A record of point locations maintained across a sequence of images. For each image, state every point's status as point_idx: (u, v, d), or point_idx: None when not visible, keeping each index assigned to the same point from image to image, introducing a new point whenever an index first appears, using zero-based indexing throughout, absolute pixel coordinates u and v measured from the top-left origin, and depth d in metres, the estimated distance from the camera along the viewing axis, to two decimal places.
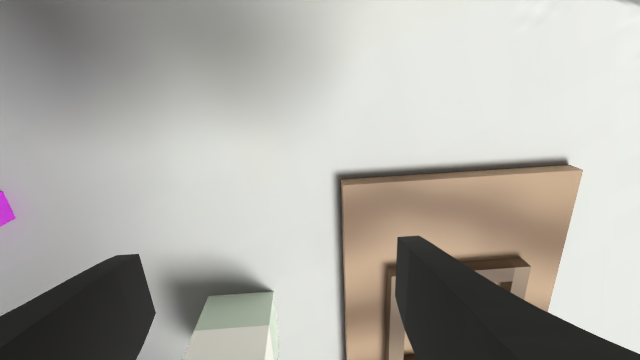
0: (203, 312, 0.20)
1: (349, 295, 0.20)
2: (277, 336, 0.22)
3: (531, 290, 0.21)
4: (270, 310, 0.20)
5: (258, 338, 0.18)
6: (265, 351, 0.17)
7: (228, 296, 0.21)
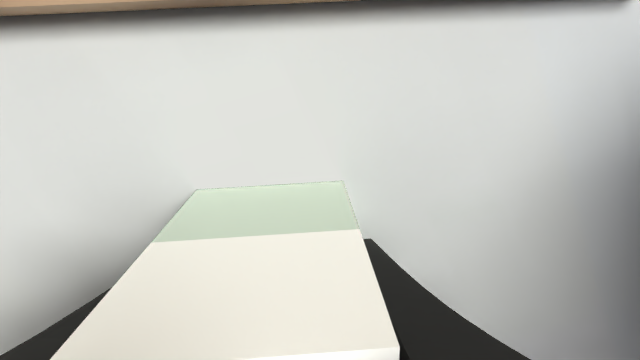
0: None
1: None
2: (307, 191, 0.09)
3: None
4: (176, 217, 0.08)
5: None
6: (105, 302, 0.05)
7: None
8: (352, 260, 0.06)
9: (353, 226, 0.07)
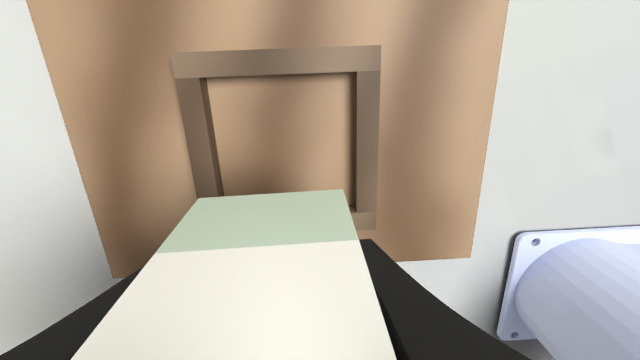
0: None
1: None
2: (308, 200, 0.09)
3: (239, 20, 0.13)
4: (179, 227, 0.08)
5: None
6: (111, 315, 0.05)
7: None
8: (351, 272, 0.06)
9: (352, 237, 0.07)
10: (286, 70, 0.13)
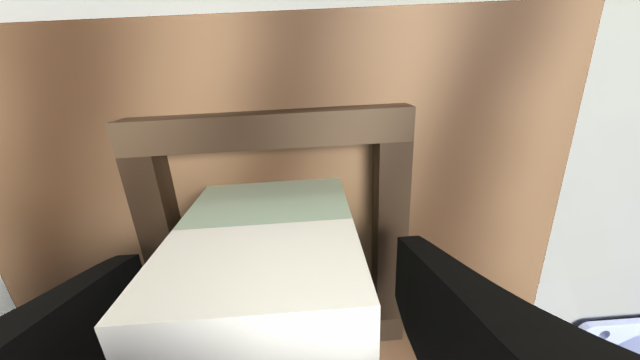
0: None
1: None
2: (307, 187, 0.10)
3: (209, 70, 0.09)
4: (191, 210, 0.09)
5: None
6: (139, 276, 0.06)
7: None
8: (344, 243, 0.07)
9: (347, 216, 0.08)
10: (277, 144, 0.09)
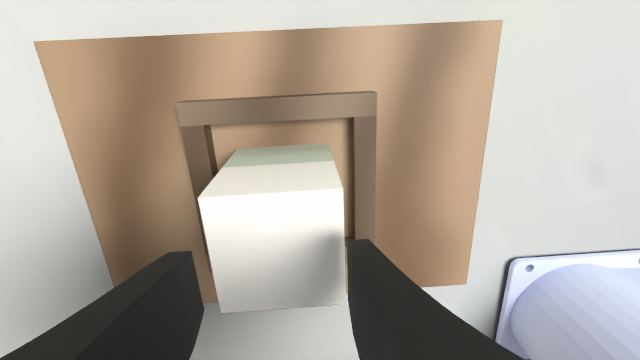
0: None
1: None
2: (306, 148, 0.15)
3: (241, 69, 0.14)
4: None
5: None
6: (211, 183, 0.11)
7: None
8: (328, 170, 0.11)
9: (331, 159, 0.13)
10: (286, 117, 0.14)
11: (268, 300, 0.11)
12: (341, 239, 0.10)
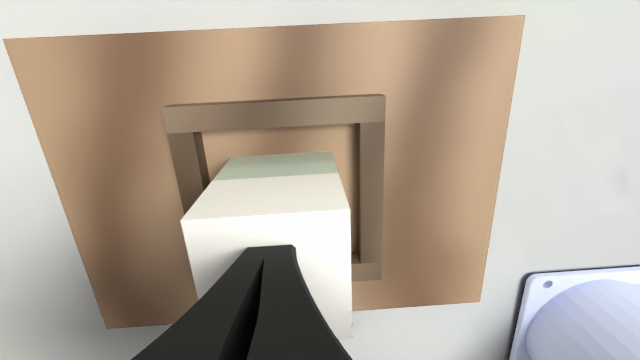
0: None
1: None
2: (307, 156, 0.13)
3: (234, 69, 0.13)
4: (222, 170, 0.12)
5: None
6: (198, 201, 0.09)
7: None
8: (331, 184, 0.10)
9: (334, 171, 0.11)
10: (285, 123, 0.12)
11: None
12: (347, 266, 0.09)
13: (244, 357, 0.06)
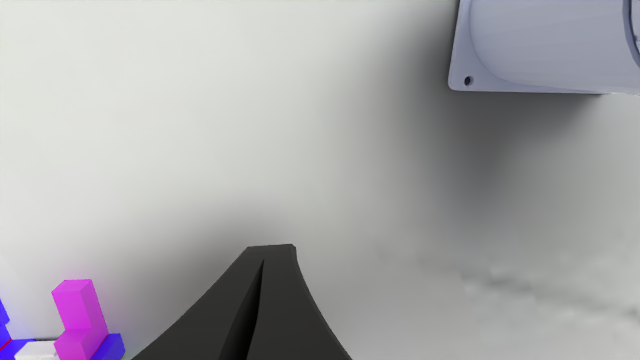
0: None
1: None
2: None
3: None
4: None
5: None
6: None
7: None
8: None
9: None
10: None
11: None
12: None
13: (244, 357, 0.06)
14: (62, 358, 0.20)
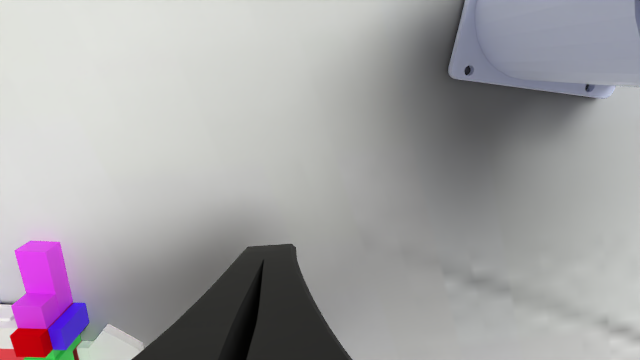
0: None
1: None
2: None
3: None
4: None
5: None
6: None
7: None
8: None
9: None
10: None
11: None
12: None
13: (244, 357, 0.06)
14: (19, 322, 0.19)
